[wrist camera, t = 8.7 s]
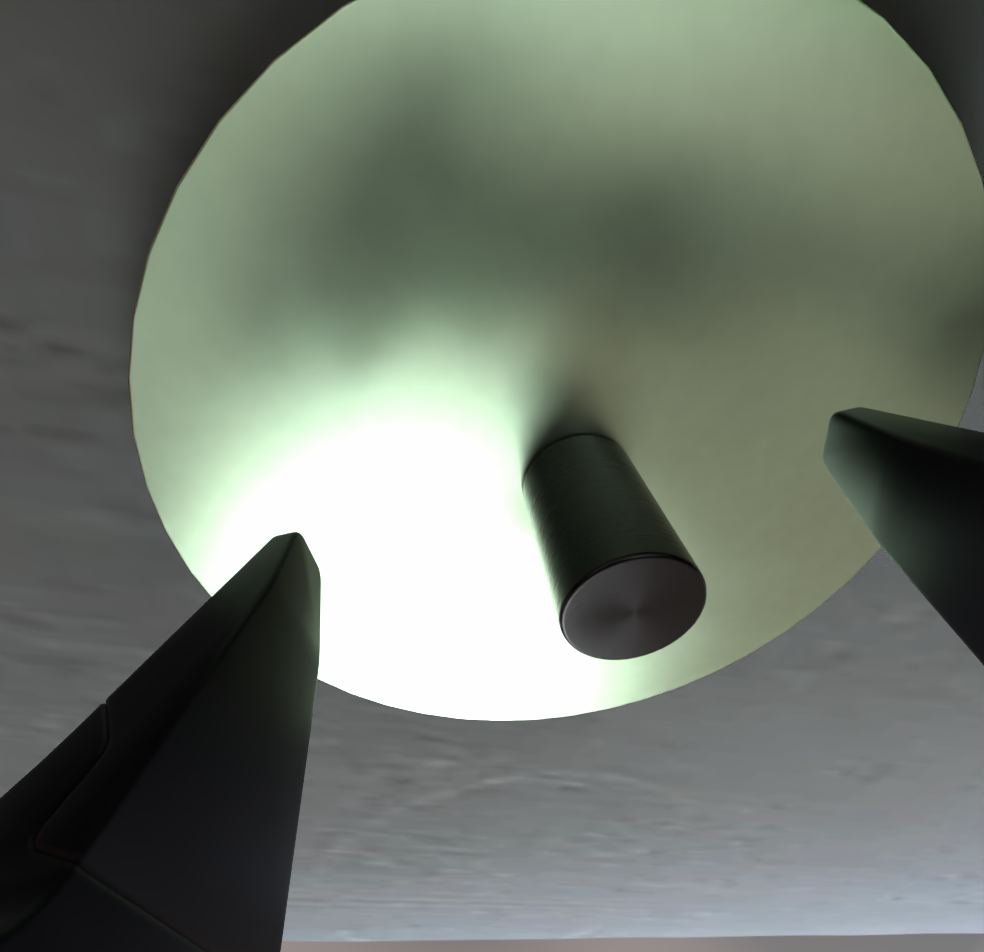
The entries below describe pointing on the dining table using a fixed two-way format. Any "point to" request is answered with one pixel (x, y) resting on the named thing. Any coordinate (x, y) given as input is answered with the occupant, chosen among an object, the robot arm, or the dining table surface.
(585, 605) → the bin lid
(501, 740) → the dining table surface
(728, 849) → the dining table surface
